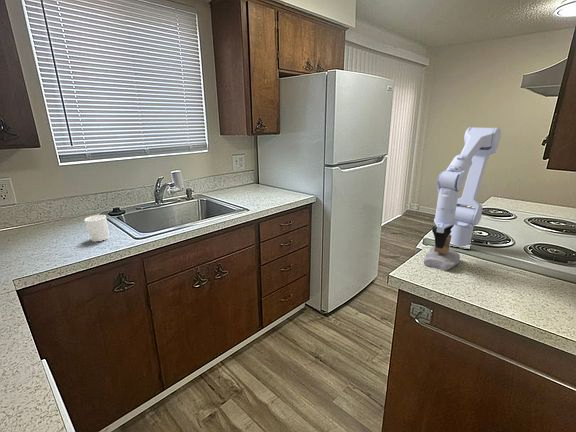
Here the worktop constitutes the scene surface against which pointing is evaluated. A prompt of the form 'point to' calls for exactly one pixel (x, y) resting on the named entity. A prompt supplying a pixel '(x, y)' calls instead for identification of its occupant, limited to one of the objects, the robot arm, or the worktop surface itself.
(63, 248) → the worktop surface
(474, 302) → the worktop surface
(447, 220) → the robot arm
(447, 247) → the walnut block
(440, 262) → the stone block
